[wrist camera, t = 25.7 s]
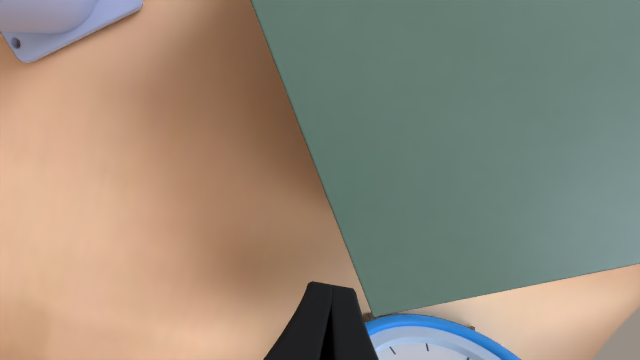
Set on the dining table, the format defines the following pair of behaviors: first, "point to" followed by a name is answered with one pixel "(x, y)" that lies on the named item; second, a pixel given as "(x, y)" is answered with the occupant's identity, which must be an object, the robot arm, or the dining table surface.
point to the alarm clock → (430, 339)
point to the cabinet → (468, 137)
